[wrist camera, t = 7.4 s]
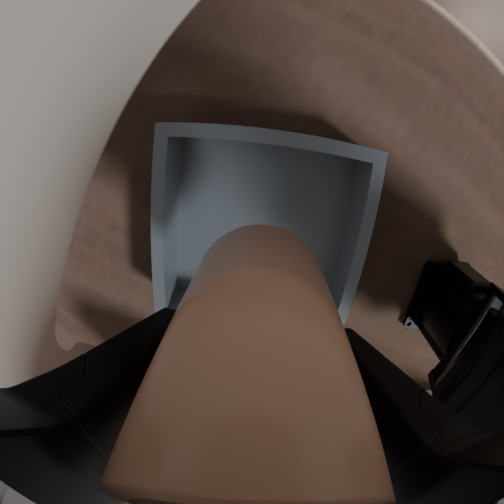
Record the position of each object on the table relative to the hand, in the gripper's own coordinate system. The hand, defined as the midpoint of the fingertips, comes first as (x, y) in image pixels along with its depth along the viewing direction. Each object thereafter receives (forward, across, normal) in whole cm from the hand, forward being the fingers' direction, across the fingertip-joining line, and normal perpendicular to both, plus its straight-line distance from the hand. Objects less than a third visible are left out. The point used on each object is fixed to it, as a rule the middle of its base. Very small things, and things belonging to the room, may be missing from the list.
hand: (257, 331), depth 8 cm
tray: (+11, 0, 0) cm, 11 cm away
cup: (+3, 0, 0) cm, 3 cm away
